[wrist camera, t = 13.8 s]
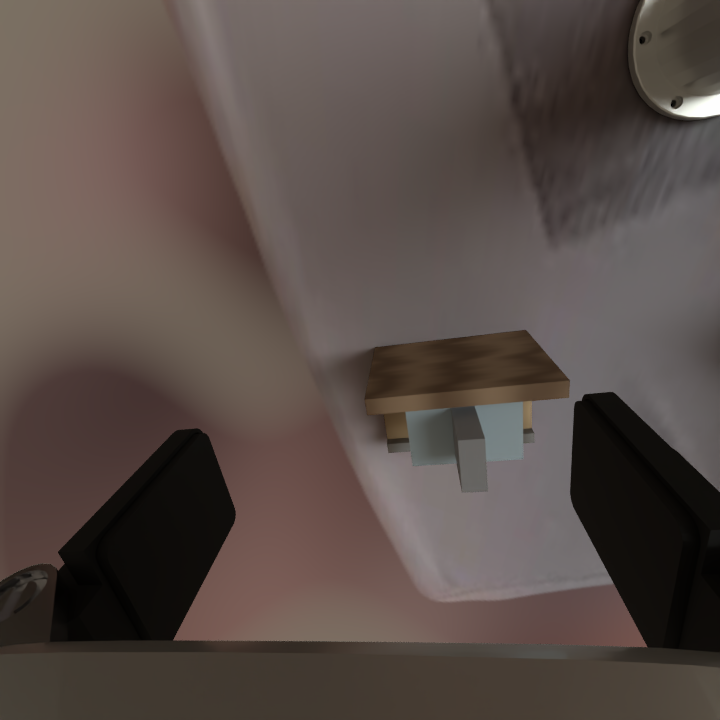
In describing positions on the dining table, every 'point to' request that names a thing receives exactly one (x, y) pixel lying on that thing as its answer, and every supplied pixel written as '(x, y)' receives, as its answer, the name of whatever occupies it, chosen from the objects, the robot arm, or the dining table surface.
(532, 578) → the dining table surface
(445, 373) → the cleat board
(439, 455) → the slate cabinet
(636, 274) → the dining table surface
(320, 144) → the dining table surface
